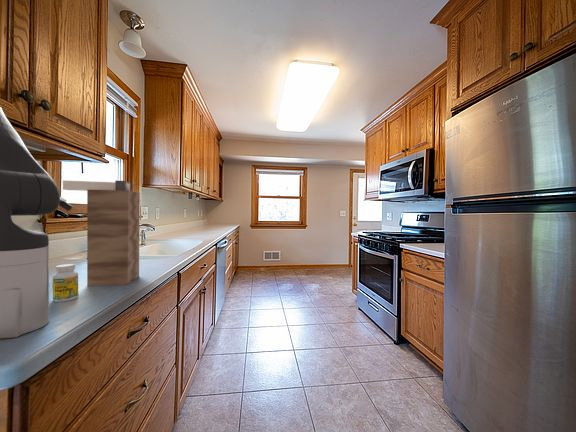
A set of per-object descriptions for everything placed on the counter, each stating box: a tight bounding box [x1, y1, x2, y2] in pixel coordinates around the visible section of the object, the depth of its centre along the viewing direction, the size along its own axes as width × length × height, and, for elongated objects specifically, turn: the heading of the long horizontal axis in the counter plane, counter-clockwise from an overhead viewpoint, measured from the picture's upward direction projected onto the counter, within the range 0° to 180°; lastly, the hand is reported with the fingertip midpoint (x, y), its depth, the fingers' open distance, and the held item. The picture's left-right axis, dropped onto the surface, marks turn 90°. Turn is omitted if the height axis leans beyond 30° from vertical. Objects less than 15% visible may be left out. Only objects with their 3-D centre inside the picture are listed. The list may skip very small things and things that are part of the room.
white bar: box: [62, 180, 132, 192], centre depth 85 cm, size 4×19×4 cm, turn 102°
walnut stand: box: [86, 190, 141, 287], centre depth 86 cm, size 10×12×32 cm
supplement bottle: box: [52, 263, 79, 303], centre depth 69 cm, size 5×5×10 cm
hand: (64, 207), depth 90 cm, fingers open, 8 cm apart
